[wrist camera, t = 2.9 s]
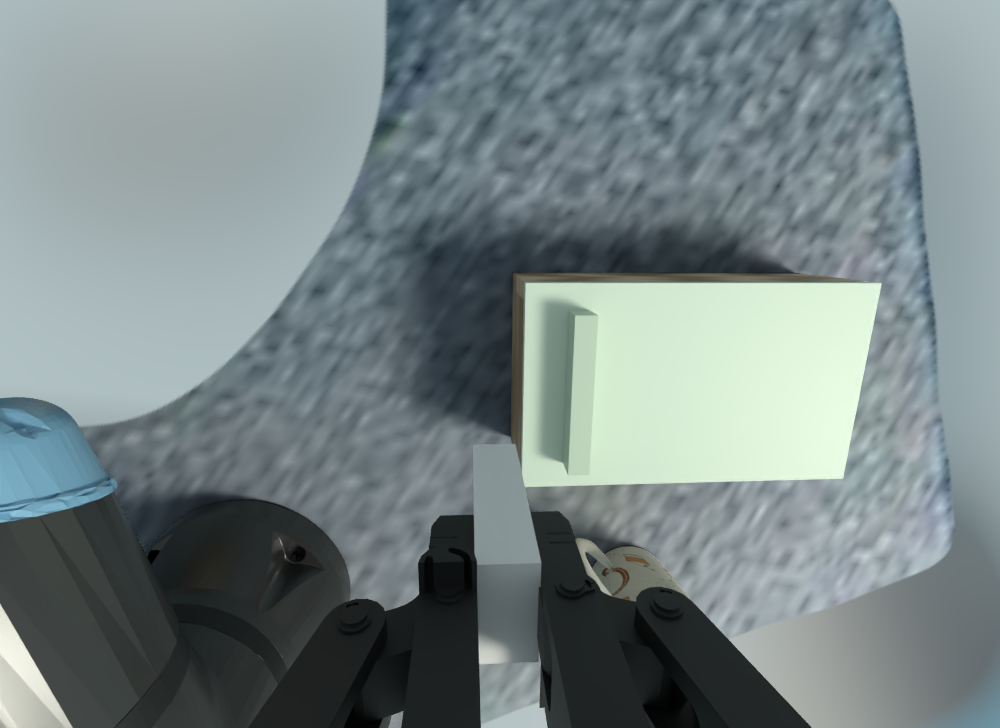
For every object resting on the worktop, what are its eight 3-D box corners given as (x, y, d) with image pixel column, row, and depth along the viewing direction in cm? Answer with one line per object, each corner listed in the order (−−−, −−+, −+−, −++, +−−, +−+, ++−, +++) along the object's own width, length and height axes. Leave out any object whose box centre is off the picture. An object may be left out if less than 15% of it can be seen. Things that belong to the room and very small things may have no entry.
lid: (520, 480, 30) (524, 500, 28) (524, 281, 27) (529, 286, 25) (833, 472, 32) (862, 491, 29) (870, 281, 29) (906, 285, 26)
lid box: (510, 437, 37) (519, 478, 31) (512, 272, 34) (523, 281, 28) (771, 431, 38) (830, 470, 32) (795, 273, 35) (866, 281, 29)
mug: (618, 637, 42) (664, 757, 32) (517, 548, 39) (534, 650, 30) (694, 575, 41) (765, 680, 31) (595, 479, 38) (640, 561, 28)
